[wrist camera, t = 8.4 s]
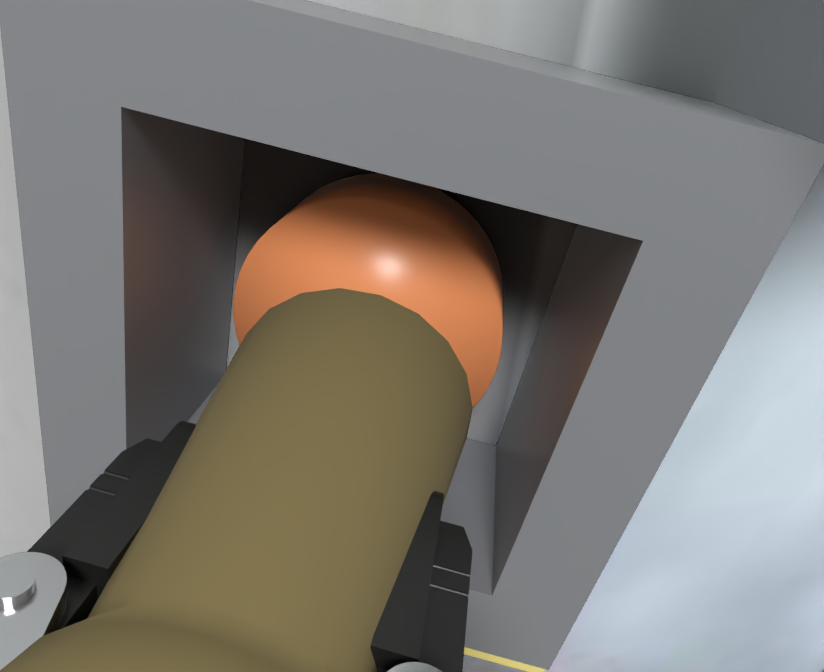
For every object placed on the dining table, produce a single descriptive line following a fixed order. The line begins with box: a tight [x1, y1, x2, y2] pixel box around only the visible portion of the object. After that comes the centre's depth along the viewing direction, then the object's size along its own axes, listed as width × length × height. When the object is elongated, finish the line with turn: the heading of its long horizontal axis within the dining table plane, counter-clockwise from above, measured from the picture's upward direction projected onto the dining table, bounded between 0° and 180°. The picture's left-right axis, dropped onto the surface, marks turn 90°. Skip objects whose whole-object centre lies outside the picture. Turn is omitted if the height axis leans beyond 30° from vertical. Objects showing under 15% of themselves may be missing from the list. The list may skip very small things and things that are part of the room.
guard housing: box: [0, 0, 824, 672], centre depth 18 cm, size 16×17×7 cm
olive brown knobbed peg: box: [0, 288, 473, 672], centre depth 10 cm, size 6×6×11 cm
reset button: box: [234, 174, 503, 407], centre depth 19 cm, size 8×8×3 cm
